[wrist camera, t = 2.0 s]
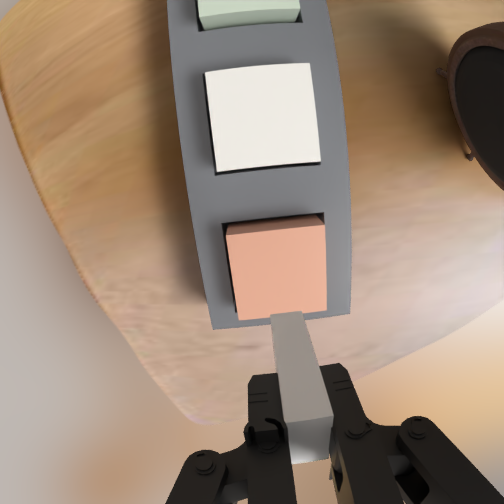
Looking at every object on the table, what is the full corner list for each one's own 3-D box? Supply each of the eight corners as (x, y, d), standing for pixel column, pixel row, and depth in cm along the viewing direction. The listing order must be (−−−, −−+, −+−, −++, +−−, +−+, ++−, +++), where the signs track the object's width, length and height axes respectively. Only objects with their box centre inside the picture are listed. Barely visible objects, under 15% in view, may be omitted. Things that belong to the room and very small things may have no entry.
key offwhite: (301, 72, 19) (309, 62, 16) (311, 158, 21) (320, 161, 18) (210, 81, 19) (204, 72, 16) (221, 168, 21) (217, 171, 18)
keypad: (303, -37, 17) (310, -59, 13) (337, 291, 28) (350, 313, 24) (175, -25, 18) (165, -46, 14) (217, 305, 28) (212, 329, 24)
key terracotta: (315, 214, 22) (324, 224, 20) (318, 291, 25) (326, 310, 22) (228, 223, 23) (225, 235, 20) (239, 300, 25) (238, 320, 22)
